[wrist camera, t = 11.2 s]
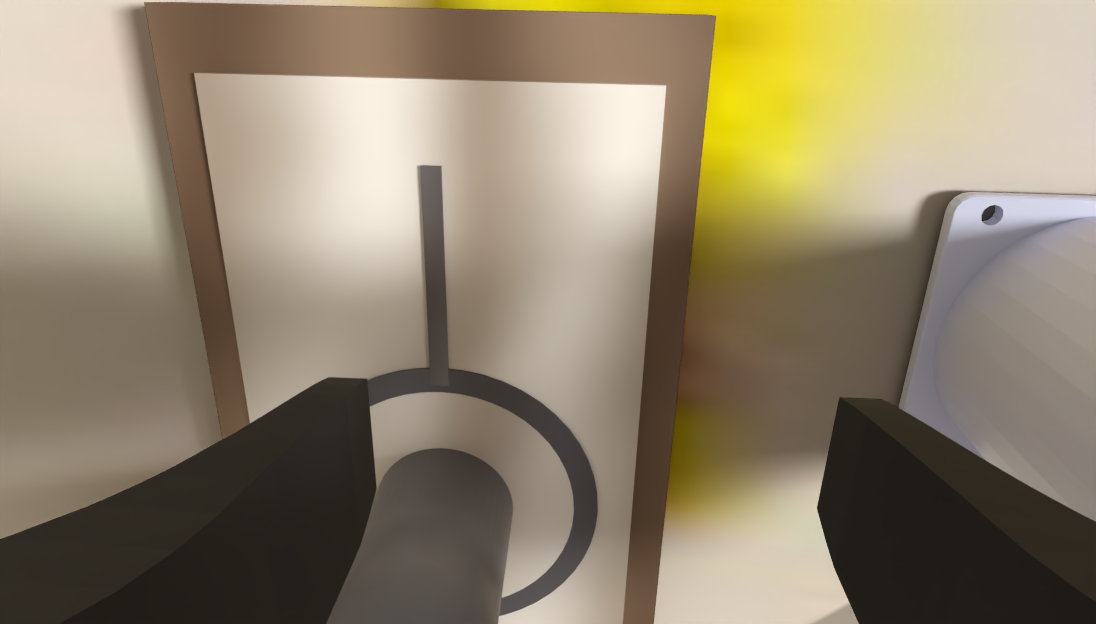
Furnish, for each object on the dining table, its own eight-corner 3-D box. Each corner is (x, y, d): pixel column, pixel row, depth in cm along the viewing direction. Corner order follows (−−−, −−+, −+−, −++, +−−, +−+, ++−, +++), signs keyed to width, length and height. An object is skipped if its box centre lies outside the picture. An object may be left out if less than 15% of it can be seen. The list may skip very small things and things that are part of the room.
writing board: (707, 14, 18) (718, 16, 16) (646, 640, 25) (649, 678, 24) (170, 2, 18) (135, 2, 17) (274, 621, 26) (255, 657, 24)
